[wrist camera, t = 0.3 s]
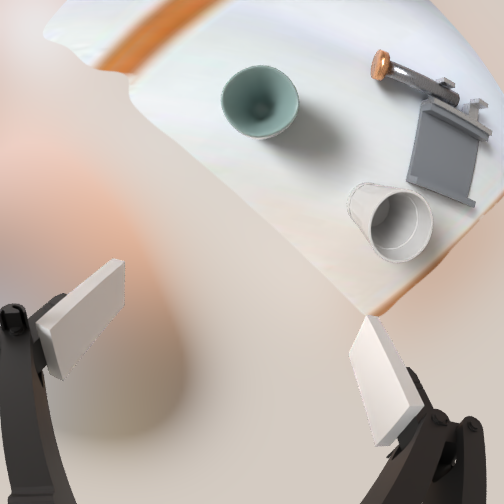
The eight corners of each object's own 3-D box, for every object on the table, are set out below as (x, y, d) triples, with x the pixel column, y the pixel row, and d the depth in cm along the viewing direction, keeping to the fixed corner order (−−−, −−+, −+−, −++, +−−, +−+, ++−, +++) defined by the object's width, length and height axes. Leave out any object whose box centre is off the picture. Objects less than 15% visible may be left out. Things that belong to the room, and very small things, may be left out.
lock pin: (369, 81, 31) (380, 74, 27) (373, 54, 29) (383, 45, 25) (445, 114, 31) (461, 112, 27) (448, 89, 30) (464, 85, 25)
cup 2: (382, 168, 36) (422, 178, 25) (398, 219, 38) (439, 245, 27) (332, 189, 38) (357, 206, 27) (352, 240, 40) (380, 274, 29)
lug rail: (423, 79, 31) (438, 74, 26) (479, 110, 31) (496, 109, 26) (420, 105, 32) (435, 102, 28) (476, 135, 32) (493, 135, 28)
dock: (420, 105, 32) (431, 103, 29) (476, 135, 32) (488, 135, 29) (405, 181, 36) (415, 183, 33) (462, 203, 36) (474, 207, 33)
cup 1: (303, 121, 35) (314, 112, 26) (254, 151, 37) (248, 152, 27) (270, 75, 33) (270, 52, 24) (222, 105, 35) (205, 91, 25)
